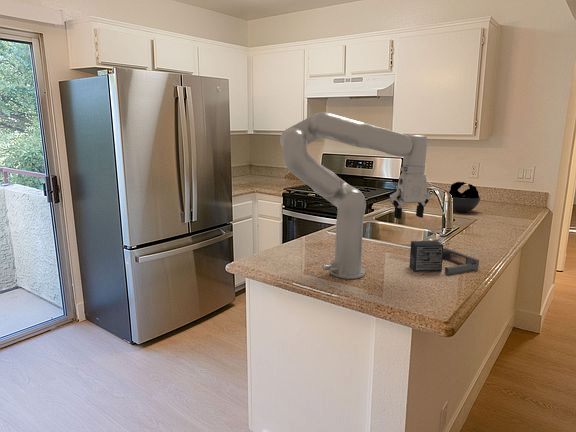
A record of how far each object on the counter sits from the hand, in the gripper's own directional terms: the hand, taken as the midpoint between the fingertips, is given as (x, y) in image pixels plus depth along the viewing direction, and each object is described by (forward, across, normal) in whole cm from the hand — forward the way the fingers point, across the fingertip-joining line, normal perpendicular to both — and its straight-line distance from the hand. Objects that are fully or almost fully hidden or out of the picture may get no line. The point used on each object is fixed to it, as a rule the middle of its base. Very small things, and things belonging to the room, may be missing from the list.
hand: (408, 217), depth 154 cm
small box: (+21, +10, -1) cm, 23 cm away
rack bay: (+20, +20, 0) cm, 28 cm away
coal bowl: (+19, +105, +78) cm, 132 cm away
